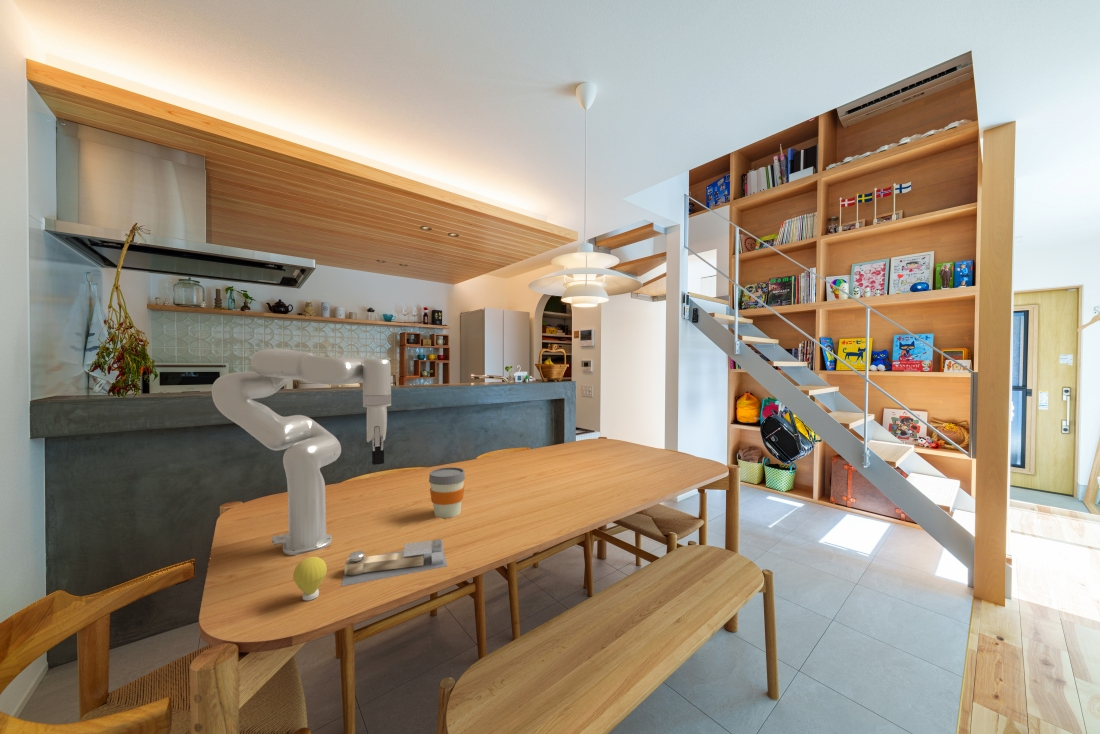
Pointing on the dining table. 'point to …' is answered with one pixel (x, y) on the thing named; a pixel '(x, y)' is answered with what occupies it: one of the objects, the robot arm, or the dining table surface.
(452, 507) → the reusable coffee cup
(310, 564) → the light bulb
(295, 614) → the dining table surface
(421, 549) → the block
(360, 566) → the arm link
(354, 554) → the pin cap
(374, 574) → the base board
